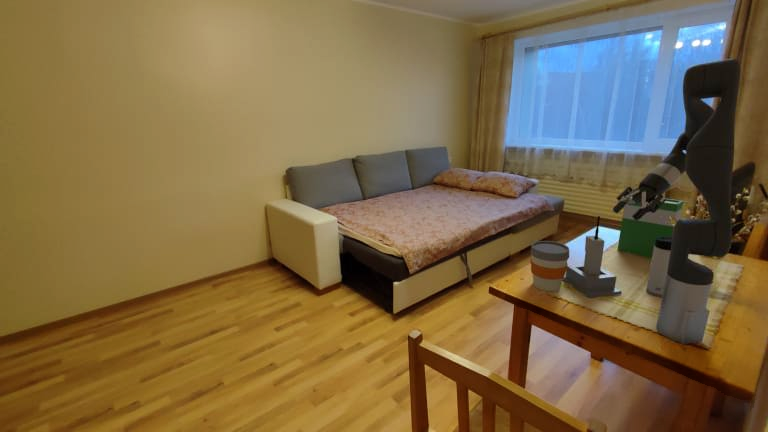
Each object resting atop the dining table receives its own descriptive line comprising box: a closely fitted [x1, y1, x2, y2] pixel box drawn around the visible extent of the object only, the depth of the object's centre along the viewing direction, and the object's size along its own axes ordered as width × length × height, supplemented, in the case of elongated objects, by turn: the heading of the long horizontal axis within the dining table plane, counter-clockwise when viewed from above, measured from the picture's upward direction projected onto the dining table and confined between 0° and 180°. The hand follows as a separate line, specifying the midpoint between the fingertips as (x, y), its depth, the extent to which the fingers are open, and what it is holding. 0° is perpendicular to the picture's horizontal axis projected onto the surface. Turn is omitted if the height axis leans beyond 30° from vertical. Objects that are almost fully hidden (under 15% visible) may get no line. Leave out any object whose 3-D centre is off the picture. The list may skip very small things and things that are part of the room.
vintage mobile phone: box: [583, 215, 605, 276], centre depth 122 cm, size 4×5×25 cm
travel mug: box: [645, 237, 672, 298], centre depth 116 cm, size 6×7×20 cm
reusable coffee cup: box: [530, 240, 570, 292], centre depth 125 cm, size 13×13×15 cm
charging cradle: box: [562, 263, 622, 299], centre depth 125 cm, size 16×12×6 cm
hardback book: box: [617, 197, 684, 259], centre depth 147 cm, size 18×7×24 cm, turn 39°
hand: (624, 215), depth 120 cm, fingers open, 8 cm apart
